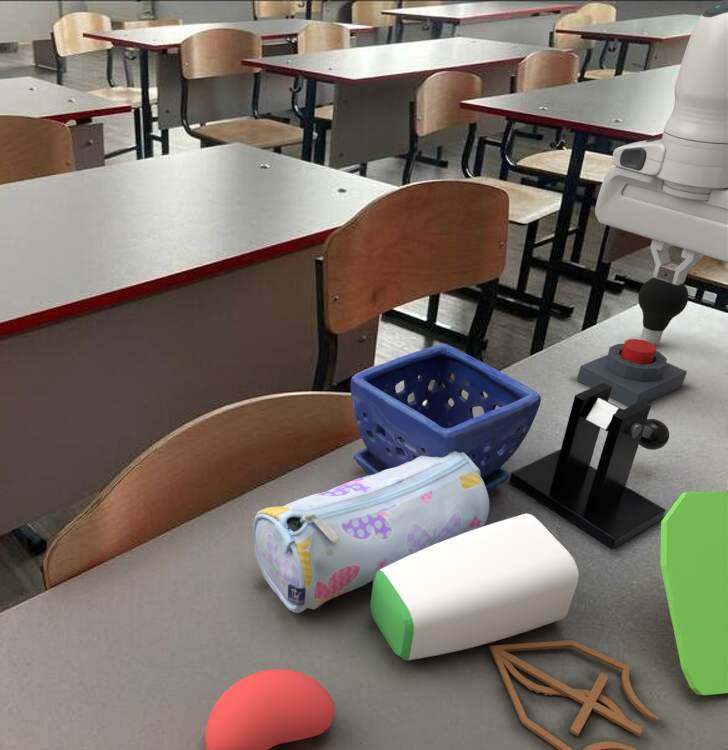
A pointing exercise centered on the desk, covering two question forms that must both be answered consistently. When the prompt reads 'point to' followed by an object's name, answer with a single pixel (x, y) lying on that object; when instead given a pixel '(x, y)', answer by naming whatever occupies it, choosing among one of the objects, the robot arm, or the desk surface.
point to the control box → (632, 376)
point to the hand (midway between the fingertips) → (668, 280)
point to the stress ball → (269, 711)
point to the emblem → (569, 692)
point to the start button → (638, 351)
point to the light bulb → (660, 306)
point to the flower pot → (440, 412)
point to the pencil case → (366, 527)
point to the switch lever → (652, 434)
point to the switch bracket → (594, 474)
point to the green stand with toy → (698, 586)
